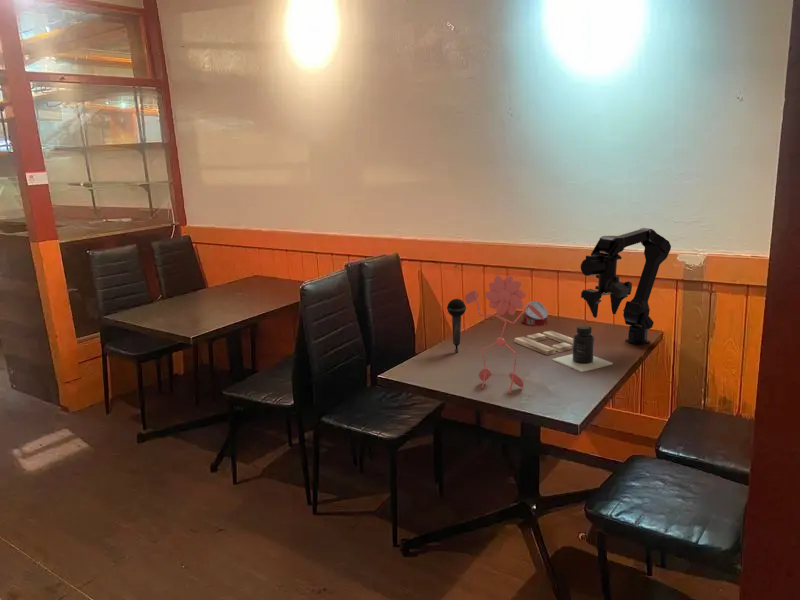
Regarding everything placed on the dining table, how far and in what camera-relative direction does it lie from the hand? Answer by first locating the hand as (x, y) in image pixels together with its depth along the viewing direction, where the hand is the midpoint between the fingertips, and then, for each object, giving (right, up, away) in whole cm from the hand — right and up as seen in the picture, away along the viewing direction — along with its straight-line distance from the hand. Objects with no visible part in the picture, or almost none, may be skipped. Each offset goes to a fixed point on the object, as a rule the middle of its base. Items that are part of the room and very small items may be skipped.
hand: (604, 315), depth 221 cm
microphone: (-52, -14, +5) cm, 54 cm away
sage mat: (-10, -16, -8) cm, 20 cm away
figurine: (-40, -21, -25) cm, 52 cm away
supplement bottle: (-10, -15, -8) cm, 20 cm away
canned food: (-16, -4, +40) cm, 43 cm away
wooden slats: (-17, -11, +12) cm, 23 cm away
